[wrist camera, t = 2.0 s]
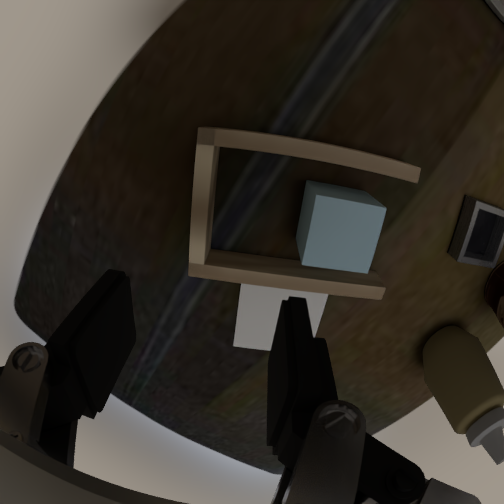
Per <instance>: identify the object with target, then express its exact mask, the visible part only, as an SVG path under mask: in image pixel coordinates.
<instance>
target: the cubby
mask: <svg viewBox="0 0 504 504" xmlns="http://www.w3.org/2000/svg"><path fill="white" fill-rule="evenodd" d="M220 147H229V148H238V149H246V150H254V151H262V152H269V153H276V154H283V155H289V156H295V157H301V158H307V159H313V160H318V161H323V162H329V163H334V164H339V165H344V166H348V167H353V168H358V169H362V170H367V171H371V172H375V173H379V174H384V175H388V176H392V177H396V178H399V179H403V180H407V181H411V182H414V183H418V179H419V175H420V170H421V168H419V167H417V166H414V165H411V164H409V163H406V162H403V161H399V160H396V159H392V158H388V157H384V156H381V155H377V154H373V153H369V152H365V151H360V150H356V149H352V148H347V147H343V146H338V145H333V144H328V143H323V142H318V141H313V140H307V139H302V138H296V137H290V136H283V135H277V134H270V133H262V132H255V131H247V130H238V129H228V128H218V127H198V137H197V147H196V157H195V169H194V181H193V195H192V210H191V227H190V247H189V275H188V276H193V277H200V278H207V279H214V280H221V281H228V282H235V283H242V284H250V285H257V286H265V287H273V288H280V289H288V290H297V291H305V292H314V293H322V294H331V295H340V296H350V297H359V298H369V299H379V300H381V299H382V297H383V294H384V292H385V289H386V287H385V286H384V284H383V282H382V281H381V279H380V277H379V276H378V274H377V273H376V271H372V270H369V271H368V274H367V273H359V272H351V271H343V270H336V269H328V268H320V267H313V266H305V265H302V264H301V261H298V260H290V259H283V258H275V257H268V256H261V255H253V254H246V253H239V252H231V251H224V250H216V249H211V237H212V225H213V213H214V202H215V191H216V181H217V171H218V162H219V152H220Z"/></svg>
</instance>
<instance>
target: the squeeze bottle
mask: <svg viewBox="0 0 504 504" xmlns="http://www.w3.org/2000/svg"><path fill="white" fill-rule="evenodd" d="M422 352H423V365H424V380H425V383H426V384H427V386H428V387H429V389H430V391H431V392H432V394H433V396H434V397H435V399H436V401H437V402H438V404H439V405H440V407H441V409H442V410H443V412H444V414H445V415H446V417H447V419H448V421H449V423H450V424H451V426H452V428H453V430H454V431H455V432H456V433H457V434H466V437H467V439H468V442H469V444H470V446H471V447H476V446H479V445H483V447H484V448H485V450H486V451H487V452H488V454H489V455H490V456H491V457H492V459H493V460H494V461H495V463H496V464H497V465H498V464H500V463H502V462H503V461H504V436H503V430H502V429H503V428H504V409H503V405H504V389H503V387H502V385H501V383H500V381H499V378H498V376H497V374H496V372H495V370H494V368H493V366H492V364H491V362H490V360H489V358H488V356H487V354H486V352H485V350H484V348H483V346H482V344H481V343H480V341H479V339H478V338H477V337H475V336H473V335H472V334H470V333H468V332H466V331H465V330H463V329H461V328H459V327H457V326H454V325H453V326H446V327H444V328H442V329H440V330H438V331H437V332H436V333H435V334H434V335H432V336H431V337H430V339H429V340H428V341H427V342H426V344H425V346H424V348H423V351H422Z"/></svg>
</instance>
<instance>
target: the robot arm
mask: <svg viewBox="0 0 504 504" xmlns="http://www.w3.org/2000/svg"><path fill="white" fill-rule="evenodd" d="M485 1H486V3H487V4H488V5H489V7H490V8H491V9H492V11H493V12H494V13H495V14H496V15H497V16H498V17H499V19H500V20H501V21H502V22H503V23H504V0H485ZM135 341H136V330H135V323H134V315H133V306H132V297H131V287H130V279H129V277H128V276H126V274H125V272H123V271H118V270H112V269H109V270H107V271H106V272H105V273H104V275H103V276H102V277H101V278H100V279H99V280H98V281H97V282H96V283H95V285H94V286H93V287H92V288H91V289H90V290H89V291H88V292H87V294H86V295H85V296H84V297H83V298H82V299H81V301H80V302H79V303H78V304H77V305H76V306H75V308H74V309H73V310H72V311H71V312H70V313H69V315H68V316H67V317H66V318H65V320H64V321H63V322H62V323H61V324H60V326H59V327H58V328H57V329H56V331H55V332H54V333H53V334H52V336H51V337H50V338H49V339H48V342H47V344H46V345H45V346H43V345H41V344H39V343H34V342H27V343H24V344H21V345H19V346H17V347H16V348H15V349H14V350H13V351H12V352H11V354H10V355H9V357H8V360H7V362H6V364H5V366H2V367H0V504H187V503H182V502H177V501H173V500H168V499H164V498H160V497H155V496H152V495H148V494H144V493H141V492H137V491H134V490H130V489H127V488H124V487H121V486H118V485H115V484H111V483H109V482H106V481H103V480H101V479H98V478H95V477H93V476H90V475H88V474H85V473H83V472H80V471H78V470H76V469H74V468H73V466H74V453H75V442H76V432H77V424H78V419H80V418H81V416H82V415H84V416H86V417H89V418H92V419H94V418H95V416H96V413H97V412H101V411H102V410H103V408H104V406H105V404H106V402H107V399H108V397H109V395H110V393H111V391H112V389H113V387H114V385H115V383H116V381H117V379H118V376H119V374H120V372H121V370H122V368H123V366H124V364H125V362H126V360H127V358H128V356H129V354H130V352H131V350H132V348H133V346H134V344H135ZM267 446H273V455H278V460H279V461H280V462H281V463H282V464H284V465H285V468H284V471H283V474H282V477H281V479H280V482H279V484H278V487H277V489H276V492H275V495H274V497H273V500H272V502H271V504H481V502H480V501H479V499H478V498H477V497H475V496H474V495H472V494H469V493H466V492H464V491H462V490H459V489H457V488H454V487H452V486H450V485H447V484H445V483H443V482H440V481H438V480H436V479H434V478H431V479H430V480H427V479H425V476H424V473H423V472H422V470H421V469H420V467H418V466H417V465H416V464H415V463H413V462H411V461H410V460H408V459H407V458H405V457H403V456H402V455H400V454H399V453H397V452H395V451H394V450H392V449H391V448H389V447H387V446H386V445H385V444H383V443H381V442H380V441H378V440H377V439H375V438H374V437H372V436H371V435H369V434H368V433H366V419H365V417H364V415H363V413H362V412H361V411H360V410H359V408H358V407H356V406H355V405H353V404H352V403H349V402H346V401H343V400H338V396H337V391H336V386H335V381H334V376H333V371H332V367H331V362H330V357H329V353H328V348H327V343H326V340H325V339H324V338H315V337H313V333H312V327H311V322H310V316H309V311H308V306H307V300H306V298H302V297H293V296H289V298H288V300H282V302H281V306H280V311H279V316H278V320H277V324H276V329H275V333H274V338H273V342H272V346H271V351H270V355H269V360H268V396H267Z"/></svg>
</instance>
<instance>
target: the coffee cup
mask: <svg viewBox="0 0 504 504" xmlns="http://www.w3.org/2000/svg"><path fill="white" fill-rule="evenodd" d="M485 300H486V302H487V304H488V305H490V307H491V308H492V309H493V311H494V312H495V314H496V316H497V318H498V320H499V322H500V323H501V325H502V326H503V328H504V262H502V263H501V264H500V265H498V266H497V267H496V269H495V270H494V271H493V272H492V274H491V276H490V278H489V280H488V282H487V285H486V289H485Z"/></svg>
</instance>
